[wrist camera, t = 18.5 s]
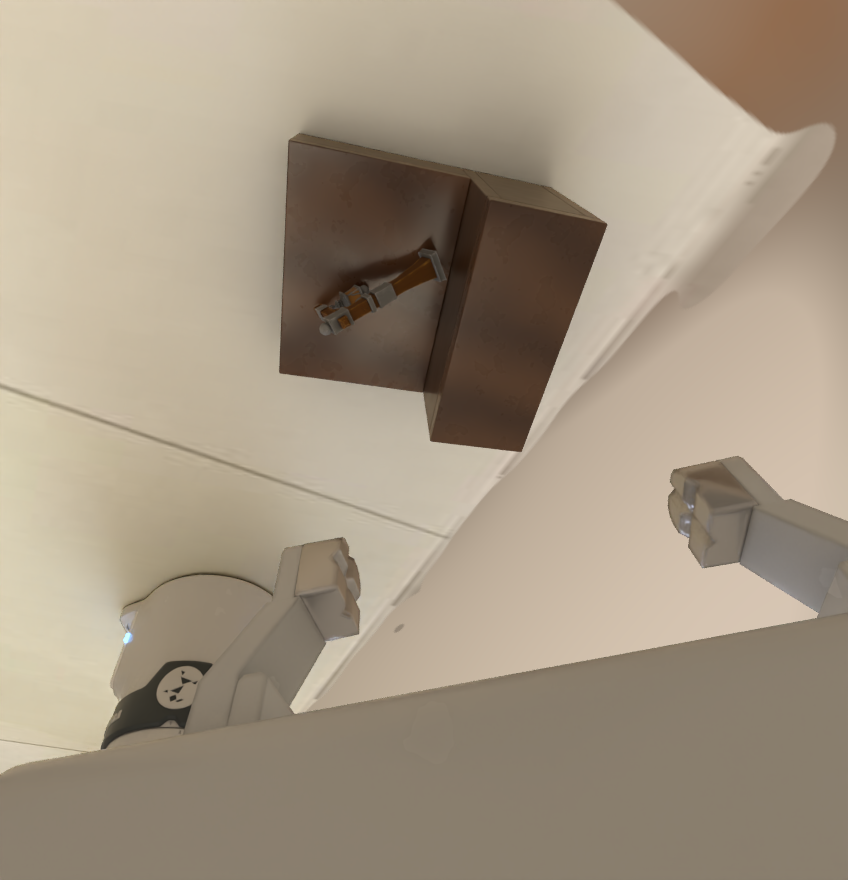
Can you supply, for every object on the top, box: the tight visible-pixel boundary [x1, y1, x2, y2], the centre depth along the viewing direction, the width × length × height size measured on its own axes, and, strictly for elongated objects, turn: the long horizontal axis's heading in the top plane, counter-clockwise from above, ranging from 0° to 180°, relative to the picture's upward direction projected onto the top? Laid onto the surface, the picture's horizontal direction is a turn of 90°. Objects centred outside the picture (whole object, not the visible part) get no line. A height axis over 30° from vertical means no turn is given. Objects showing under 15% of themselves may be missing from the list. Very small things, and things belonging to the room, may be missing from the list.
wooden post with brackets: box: [314, 248, 447, 335], centre depth 31 cm, size 2×8×4 cm, turn 111°
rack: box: [279, 133, 607, 452], centre depth 31 cm, size 14×16×10 cm
